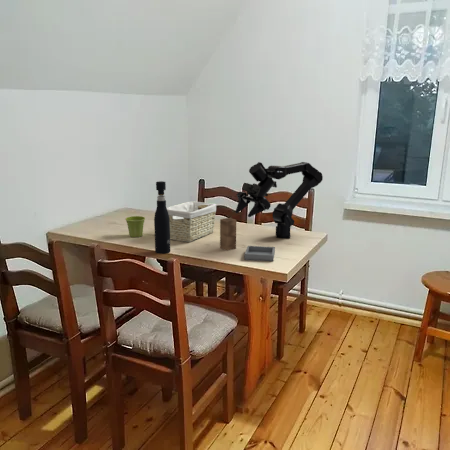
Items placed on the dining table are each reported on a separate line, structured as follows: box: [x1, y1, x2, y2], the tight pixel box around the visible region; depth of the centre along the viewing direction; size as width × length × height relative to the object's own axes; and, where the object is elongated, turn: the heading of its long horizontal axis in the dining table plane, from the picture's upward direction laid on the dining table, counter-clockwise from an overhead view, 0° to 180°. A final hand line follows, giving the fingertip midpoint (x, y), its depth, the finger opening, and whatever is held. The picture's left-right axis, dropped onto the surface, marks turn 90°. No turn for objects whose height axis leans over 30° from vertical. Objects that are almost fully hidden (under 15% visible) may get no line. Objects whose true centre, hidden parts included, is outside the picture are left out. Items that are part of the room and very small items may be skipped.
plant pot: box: [124, 215, 146, 238], centre depth 217 cm, size 9×9×9 cm
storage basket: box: [166, 200, 217, 243], centre depth 217 cm, size 24×16×15 cm
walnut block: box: [219, 217, 237, 252], centre depth 197 cm, size 5×5×13 cm
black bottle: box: [153, 180, 171, 255], centre depth 190 cm, size 6×6×30 cm
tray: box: [244, 245, 276, 262], centre depth 188 cm, size 12×12×2 cm
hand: (242, 214), depth 200 cm, fingers open, 9 cm apart
